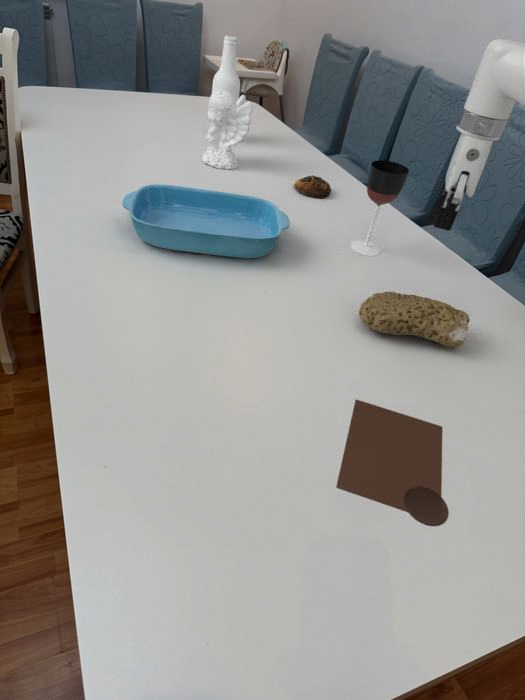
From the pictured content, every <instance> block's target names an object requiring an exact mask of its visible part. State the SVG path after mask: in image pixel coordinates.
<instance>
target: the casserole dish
mask: <svg viewBox="0 0 525 700" xmlns="http://www.w3.org/2000/svg"><path fill="white" fill-rule="evenodd" d="M122 207H123V208H124V209H125V210H127V211H129V215H130V218H131V222H132V224H133V227H134V230H135V232H136V234H137V236H138V237H139V238H140V239H141V240H142V241H143V242H144V243H146V244H147V245H149V246H151V247H156V248H160V249H166V250H174V251H181V252H187V253H188V252H189V253H196V254H206V255H211V256H218V257H219V256H220V257H227V258H228V257H229V258H238V259H250V260H251V259H253V260H254V259H259V258H262V257H265V256H266V255H268V254H269V253H270V252H271V251H272V250H273V249H274V247H275V245H276V244H277V241H278V239H279V238H280V235H281V233H282V231H285V230H287V229H289V227H290V226H291V221H290V218H289V216H288V215H287V214H286V213H285V212H284V211H282V210H280V209H279V207H278V206H277V205H276V204H275V203H273V202H272V201H269V200H267V199H264V198H261V197H257V196H256V197H255V196H251V195H246V194H245V195H244V194H240V193H239V194H238V193H231V192H224V191H217V190H211V189H210V190H209V189H204V188H203V189H201V188H195V187H190V186H189V187H188V186H181V185H172V184H162V183H161V184H157V183H156V184H147V185H143V186H141V187H140V188H138V189H137V190H135V191H131V192H129V193H127V194H126V195H125V196H123V199H122Z"/></svg>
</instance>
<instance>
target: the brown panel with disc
mask: <svg viewBox="0 0 525 700" xmlns="http://www.w3.org/2000/svg"><path fill="white" fill-rule="evenodd" d="M442 464H443V426H442V425H438V424H436V423H433V422H429V421H426V420H423V419H420V418H417V417H414V416H411V415H407V414H404V413H401V412H397V411H395V410H391V409H388V408H385V407H382V406H379V405H376V404H372V403H369V402H366V401H363V400H359V399H357V398H356V399H355V401H354V405H353V410H352V415H351V419H350V424H349V428H348V432H347V438H346V442H345V446H344V451H343V455H342V460H341V464H340V469H339V472H338V473H339V474H338V478H337V483H336V486H335V487H336V489H339V490H342V491H344V492H347V493H350V494H353V495H356V496H360V497H361V498H365V499H368V500H370V501H373V502H377V503H379V504H383V505H385V506H389V507H391V508H394V509H397V510H400V511H402V512H406V513H408V514H409V515H410V516H411V518H413V520H415V521H417V522H418V523H420V524H422V525H425V526H428V527H438V526H442V525H443V524H445V523H446V522H447V520H448V519H449V507H448V505H447V503H446V501H445V499H444V498H443V497H442V476H443V474H442V473H443V472H442V468H443V467H442V466H443V465H442Z"/></svg>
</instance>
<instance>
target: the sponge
mask: <svg viewBox="0 0 525 700" xmlns="http://www.w3.org/2000/svg"><path fill="white" fill-rule="evenodd" d="M358 316H359V319H360V321H361V322H362V324H364V325H366V326H367V327H369V328H370V330H373V331H375V332H379V333H382V334H386V335H393V336H407V335H409V336H416V337H418V338H422V339H423V338H424V339H425V340H430V341H433V342H436V343H438V344H440V345H442V346H444V347H449V348H450V347H452V348H457V347H460V346H462V345H463V344H464V340H465V338H466V336H467V335H468V332H469V323H470V315H469V314H468V313H467V312H466V311H464V310H461V309H457V308H455V307H454V306H452V304H449V303H446V302H443V301H440V300H438V299H437V300H436V299H432V298H429V297H424V296H419V295H416V294H406V293H403V294H402V293H401V292H395V291H384V292H375V293H373V294H372V295H371V296H368V298H366V299H365V301H363V302H362V303H361V304H360V308H359V310H358Z"/></svg>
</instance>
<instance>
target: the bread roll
mask: <svg viewBox="0 0 525 700" xmlns="http://www.w3.org/2000/svg"><path fill="white" fill-rule="evenodd" d="M293 186H294V187H295V190H297V192H299V193H300V194H303V195H305V196H308V197H312V198H317V199H326V198H327V197H329V196H330V194H331V193H332V187H331V184H330V183H329V182H328V181H327V180H326V179H323V178H322V176H317V175H313V174H312V175H307V176H304V177H303V176H302V177H300V178H299V179H297V180H296V181H295V182H294V184H293Z"/></svg>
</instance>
